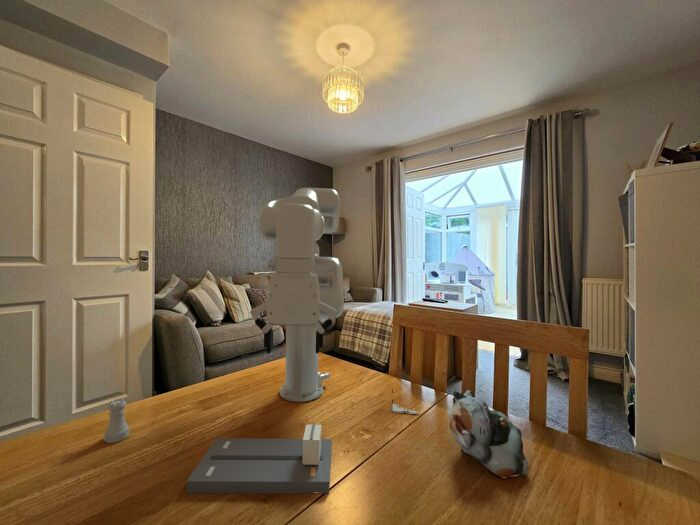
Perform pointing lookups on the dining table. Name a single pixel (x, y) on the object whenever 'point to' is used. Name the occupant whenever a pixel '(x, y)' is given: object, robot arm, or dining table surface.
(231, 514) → the dining table surface
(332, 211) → the robot arm
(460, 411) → the lucky cat figurine
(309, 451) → the fader
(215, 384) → the dining table surface
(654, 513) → the dining table surface
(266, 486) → the grey slotted panel
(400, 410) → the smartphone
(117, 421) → the rook chess piece
